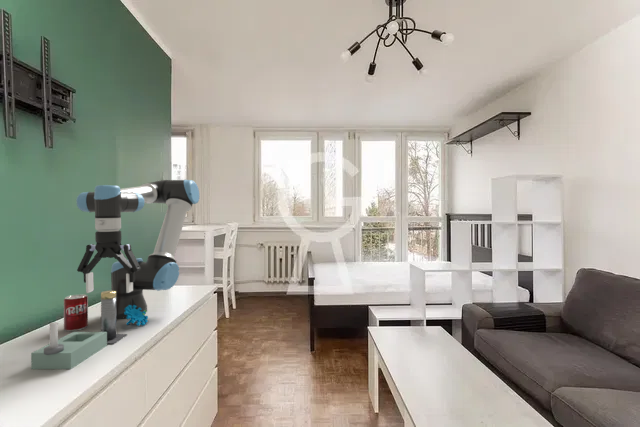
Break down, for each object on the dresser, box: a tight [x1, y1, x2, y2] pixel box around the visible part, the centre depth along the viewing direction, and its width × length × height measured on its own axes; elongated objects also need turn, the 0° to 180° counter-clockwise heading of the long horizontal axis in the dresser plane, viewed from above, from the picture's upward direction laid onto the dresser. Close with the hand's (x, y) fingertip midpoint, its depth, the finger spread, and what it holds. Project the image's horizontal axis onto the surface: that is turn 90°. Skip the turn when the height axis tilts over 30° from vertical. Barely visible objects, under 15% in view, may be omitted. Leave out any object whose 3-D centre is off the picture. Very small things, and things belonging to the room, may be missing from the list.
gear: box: [124, 305, 149, 327], centre depth 129 cm, size 11×6×10 cm
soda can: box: [63, 293, 89, 332], centre depth 124 cm, size 7×7×12 cm
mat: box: [107, 333, 128, 345], centre depth 113 cm, size 8×8×1 cm
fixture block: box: [30, 321, 108, 370], centre depth 100 cm, size 17×11×12 cm, turn 1°
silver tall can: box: [100, 289, 117, 341], centre depth 113 cm, size 4×4×16 cm
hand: (109, 291), depth 114 cm, fingers open, 13 cm apart
